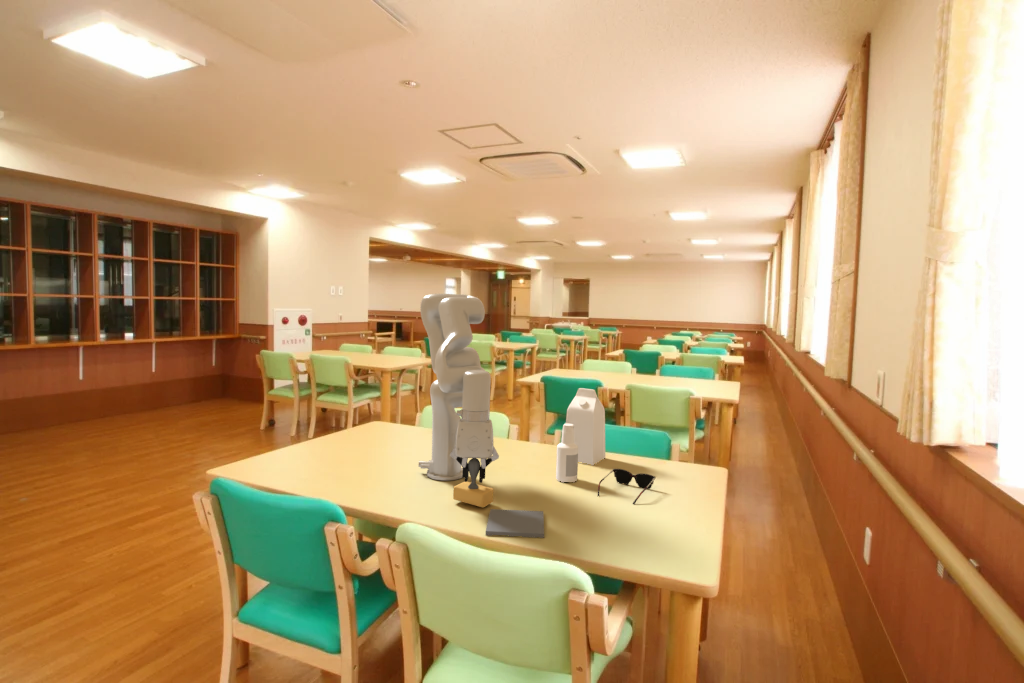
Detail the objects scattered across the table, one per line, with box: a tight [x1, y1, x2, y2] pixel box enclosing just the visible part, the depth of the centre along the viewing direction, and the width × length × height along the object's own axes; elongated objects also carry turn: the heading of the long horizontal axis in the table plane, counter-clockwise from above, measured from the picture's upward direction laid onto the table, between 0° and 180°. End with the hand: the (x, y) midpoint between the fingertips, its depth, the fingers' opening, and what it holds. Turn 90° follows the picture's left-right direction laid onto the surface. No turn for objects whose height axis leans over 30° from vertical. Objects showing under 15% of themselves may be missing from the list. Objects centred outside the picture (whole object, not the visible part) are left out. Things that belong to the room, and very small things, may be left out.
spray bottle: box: [555, 423, 579, 483], centre depth 168 cm, size 7×7×18 cm
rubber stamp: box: [452, 458, 495, 508], centre depth 145 cm, size 10×6×12 cm, turn 60°
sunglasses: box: [597, 468, 656, 505], centre depth 158 cm, size 14×16×5 cm
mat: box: [485, 508, 545, 539], centre depth 132 cm, size 14×14×1 cm
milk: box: [565, 387, 606, 466], centre depth 192 cm, size 12×12×26 cm
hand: (473, 480), depth 145 cm, fingers closed on rubber stamp, 3 cm apart
